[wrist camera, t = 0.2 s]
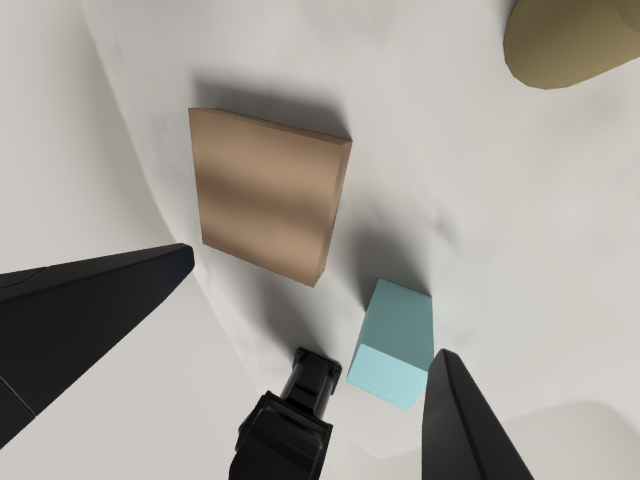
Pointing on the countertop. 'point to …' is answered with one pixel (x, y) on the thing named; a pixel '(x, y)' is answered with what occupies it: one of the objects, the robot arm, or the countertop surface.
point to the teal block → (394, 345)
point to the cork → (570, 39)
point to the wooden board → (267, 190)
